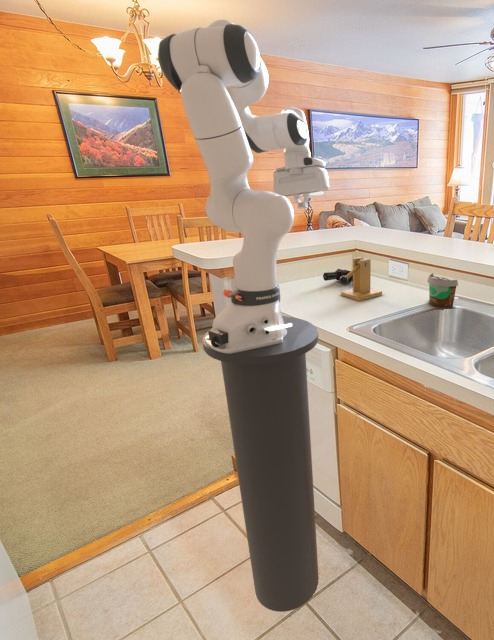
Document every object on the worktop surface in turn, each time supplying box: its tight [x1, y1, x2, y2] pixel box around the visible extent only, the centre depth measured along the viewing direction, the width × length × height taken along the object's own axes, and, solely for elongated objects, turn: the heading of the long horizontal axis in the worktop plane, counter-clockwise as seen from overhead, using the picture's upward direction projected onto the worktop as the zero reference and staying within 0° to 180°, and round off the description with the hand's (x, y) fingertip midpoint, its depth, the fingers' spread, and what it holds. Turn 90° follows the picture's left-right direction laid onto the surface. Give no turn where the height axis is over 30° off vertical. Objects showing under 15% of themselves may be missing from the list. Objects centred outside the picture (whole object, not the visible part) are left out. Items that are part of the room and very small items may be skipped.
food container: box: [426, 272, 459, 309], centre depth 155 cm, size 12×6×10 cm, turn 42°
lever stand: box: [340, 256, 383, 302], centre depth 163 cm, size 12×10×14 cm
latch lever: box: [338, 258, 365, 286], centre depth 159 cm, size 13×3×3 cm, turn 134°
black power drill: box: [322, 268, 353, 284], centre depth 180 cm, size 5×20×15 cm
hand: (302, 208), depth 148 cm, fingers closed
